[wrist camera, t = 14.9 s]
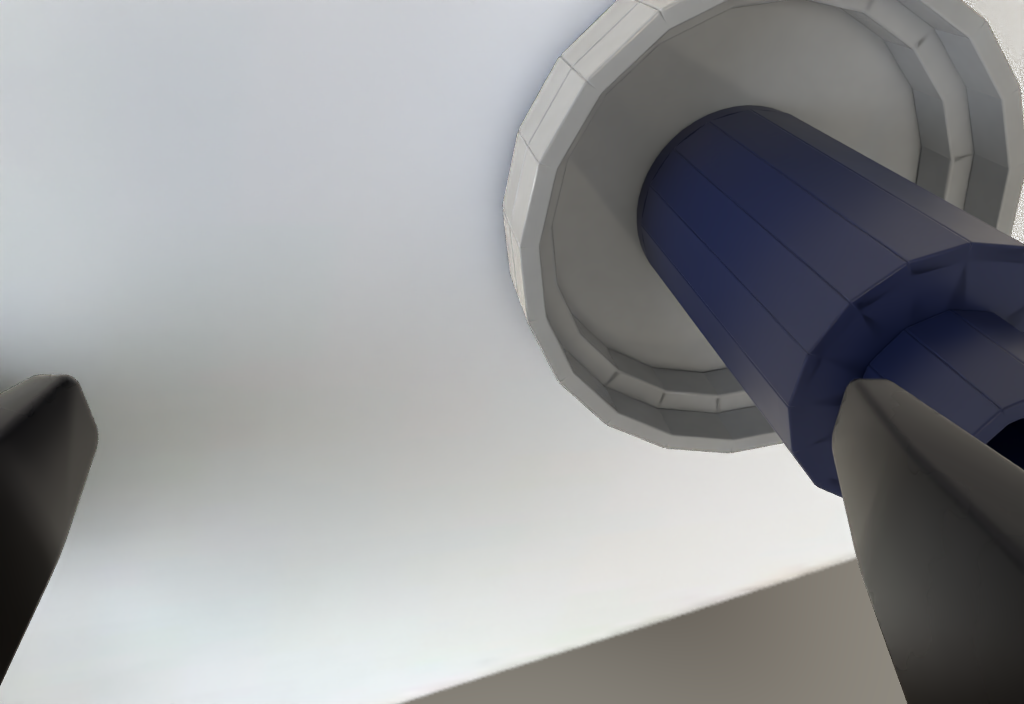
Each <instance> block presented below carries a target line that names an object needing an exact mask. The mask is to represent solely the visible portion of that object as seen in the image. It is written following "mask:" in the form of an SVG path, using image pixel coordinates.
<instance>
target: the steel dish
mask: <svg viewBox="0 0 1024 704" xmlns="http://www.w3.org/2000/svg"><path fill="white" fill-rule="evenodd" d="M746 105H752V106H764V107H769V108H773V109H776V110H779V111H782V112H784V113H788V114H791V115H793V116H794V117H796V118H798V119H800V120H802V121H803V122H805V123H807V124H809V125H811V126H812V127H814V128H816V129H818V130H820V131H821V132H823V133H825V134H827V135H828V136H830V137H832V138H834V139H836V140H837V141H839V142H841V143H843V144H845V145H846V146H848V147H850V148H852V149H854V150H855V151H857V152H859V153H861V154H863V155H864V156H866V157H868V158H870V159H872V160H873V161H875V162H877V163H879V164H881V165H882V166H884V167H886V168H888V169H890V170H891V171H893V172H895V173H897V174H899V175H900V176H902V177H904V178H906V179H908V180H909V181H911V182H913V183H915V184H917V185H918V186H920V187H922V188H924V189H926V190H927V191H929V192H931V193H933V194H935V195H936V196H938V197H940V198H942V199H944V200H945V201H947V202H949V203H951V204H953V205H954V206H956V207H958V208H960V209H962V210H963V211H965V212H967V213H969V214H971V215H972V216H974V217H976V218H978V219H980V220H981V221H983V222H985V223H987V224H989V225H990V226H992V227H994V228H996V229H998V230H999V231H1001V232H1003V233H1005V234H1007V235H1008V236H1010V237H1011V234H1012V229H1013V225H1014V220H1015V216H1016V212H1017V207H1018V203H1019V198H1020V194H1021V190H1022V185H1023V181H1024V120H1023V109H1022V98H1021V89H1020V85H1019V83H1018V81H1017V79H1016V77H1015V75H1014V73H1013V71H1012V69H1011V67H1010V65H1009V63H1008V61H1007V59H1006V57H1005V55H1004V53H1003V51H1002V49H1001V47H1000V45H999V43H998V41H997V39H996V37H995V35H994V33H993V31H992V30H991V28H990V26H989V24H988V22H987V21H986V20H985V18H984V17H983V16H981V15H980V14H979V13H977V12H976V11H975V10H974V9H972V8H971V7H970V6H969V5H967V4H966V3H965V2H964V1H962V0H617V1H616V2H615V3H614V4H613V5H612V6H611V7H610V8H608V9H607V10H606V11H605V12H604V13H603V14H602V15H601V16H600V17H599V18H598V19H597V20H596V21H595V22H594V23H593V24H592V25H591V26H590V27H589V28H588V29H587V30H586V31H585V32H584V33H583V34H582V35H581V36H580V37H579V38H578V39H577V40H576V41H575V42H574V43H573V44H572V45H570V46H569V47H568V48H567V49H566V50H565V51H564V52H563V53H562V55H561V57H559V58H558V59H557V61H556V63H555V65H554V66H553V68H552V70H551V72H550V74H549V75H548V77H547V79H546V81H545V83H544V84H543V86H542V88H541V90H540V92H539V93H538V95H537V97H536V99H535V101H534V102H533V104H532V106H531V108H530V110H529V111H528V113H527V115H526V117H525V119H524V120H523V122H522V124H521V126H520V128H519V132H518V133H517V137H516V142H515V147H514V152H513V157H512V161H511V166H510V171H509V176H508V181H507V185H506V190H505V195H504V200H503V205H502V206H503V219H504V227H505V236H506V244H507V252H508V261H509V269H510V275H511V278H512V282H513V284H514V287H515V290H516V292H517V295H518V298H519V300H520V303H521V306H522V309H523V311H524V314H525V317H526V319H527V322H528V324H529V326H530V328H531V330H532V332H533V334H534V336H535V338H536V340H537V342H538V344H539V346H540V348H541V350H542V352H543V354H544V356H545V358H546V360H547V362H548V364H549V366H550V367H551V369H552V371H553V373H554V375H555V377H556V379H557V381H559V383H560V384H561V385H562V386H563V387H564V388H565V389H566V390H567V391H569V392H570V393H571V394H572V395H573V396H574V397H575V398H576V399H578V400H579V401H580V402H581V403H582V404H583V405H584V406H585V407H587V408H588V409H589V410H590V411H591V412H592V413H593V414H594V415H595V416H597V417H598V418H599V419H600V420H601V421H602V422H603V423H605V424H607V425H608V426H610V427H613V428H615V429H618V430H620V431H623V432H625V433H628V434H630V435H633V436H635V437H638V438H640V439H643V440H645V441H648V442H650V443H653V444H655V445H658V446H660V447H663V448H667V449H679V450H692V451H705V452H718V453H735V452H740V451H745V450H750V449H755V448H761V447H766V446H771V445H776V444H782V443H783V441H782V440H781V439H780V437H779V436H778V435H777V433H776V432H775V431H774V429H773V428H772V427H771V425H770V424H769V423H768V421H767V420H766V419H765V417H764V416H763V415H762V413H761V412H760V411H759V409H758V408H757V407H756V405H755V404H754V403H753V401H752V400H751V399H750V397H749V396H748V395H747V393H746V392H745V391H744V389H743V388H742V387H741V385H740V384H739V383H738V381H737V380H736V378H735V377H734V376H733V374H732V373H731V372H730V370H729V369H728V368H727V366H726V365H725V364H724V362H723V361H722V360H721V358H720V357H719V356H718V354H717V353H716V352H715V350H714V349H713V348H712V346H711V345H710V344H709V342H708V341H707V340H706V338H705V337H704V336H703V334H702V333H701V332H700V330H699V329H698V328H697V326H696V325H695V324H694V322H693V321H692V320H691V318H690V317H689V316H688V314H687V313H686V311H685V310H684V309H683V307H682V306H681V305H680V303H679V302H678V301H677V299H676V298H675V297H674V295H673V294H672V293H671V291H670V290H669V289H668V287H667V286H666V285H665V283H664V282H663V281H662V279H661V278H660V277H659V275H658V274H657V272H656V271H655V270H654V268H653V267H652V266H651V264H650V263H649V262H648V259H647V258H646V256H645V254H644V252H643V249H642V247H641V244H640V240H639V237H638V230H637V207H638V200H639V196H640V192H641V189H642V185H643V183H644V180H645V178H646V176H647V173H648V171H649V170H650V168H651V166H652V164H653V162H654V161H655V159H656V158H657V157H658V155H659V154H660V152H661V151H662V150H663V149H664V147H665V146H666V145H667V144H668V143H669V142H670V141H671V140H672V139H673V138H674V137H675V136H676V135H677V134H679V133H680V132H681V131H682V130H683V129H685V128H686V127H688V126H689V125H691V124H692V123H693V122H695V121H697V120H699V119H701V118H703V117H704V116H706V115H708V114H711V113H714V112H716V111H719V110H722V109H726V108H731V107H736V106H746Z"/></svg>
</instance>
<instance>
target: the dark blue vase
mask: <svg viewBox="0 0 1024 704" xmlns="http://www.w3.org/2000/svg"><path fill="white" fill-rule="evenodd" d="M637 230H638V237H639V240H640V244H641V247H642V249H643V252H644V254H645V256H646V258H647V259H648V262H649V263H650V264H651V266H652V267H653V268H654V270H655V271H656V272H657V274H658V275H659V277H660V278H661V279H662V281H663V282H664V283H665V285H666V286H667V287H668V289H669V290H670V291H671V293H672V294H673V295H674V297H675V298H676V299H677V301H678V302H679V303H680V305H681V306H682V307H683V309H684V310H685V311H686V313H687V314H688V316H689V317H690V318H691V320H692V321H693V322H694V324H695V325H696V326H697V328H698V329H699V330H700V332H701V333H702V334H703V336H704V337H705V338H706V340H707V341H708V342H709V344H710V345H711V346H712V348H713V349H714V350H715V352H716V353H717V354H718V356H719V357H720V358H721V360H722V361H723V362H724V364H725V365H726V366H727V368H728V369H729V370H730V372H731V373H732V374H733V376H734V377H735V378H736V380H737V381H738V383H739V384H740V385H741V387H742V388H743V389H744V391H745V392H746V393H747V395H748V396H749V397H750V399H751V400H752V401H753V403H754V404H755V405H756V407H757V408H758V409H759V411H760V412H761V413H762V415H763V416H764V417H765V419H766V420H767V421H768V423H769V424H770V425H771V427H772V428H773V429H774V431H775V432H776V433H777V435H778V436H779V437H780V439H781V440H782V441H783V443H784V444H785V445H786V447H787V448H788V450H789V451H790V452H791V454H792V455H793V456H794V458H795V459H796V460H797V462H798V463H799V464H800V466H801V467H802V468H803V470H804V471H805V472H806V474H807V475H808V476H809V478H810V479H811V480H812V482H813V483H814V484H815V485H816V486H817V487H819V488H821V489H824V490H826V491H828V492H831V493H833V494H835V495H837V496H840V497H842V498H843V496H842V492H841V487H840V483H839V478H838V474H837V470H836V465H835V461H834V456H833V451H832V434H833V430H834V426H835V423H836V419H837V416H838V413H839V409H840V406H841V402H842V399H843V396H844V392H845V389H846V387H847V385H848V384H849V382H850V381H852V380H854V379H888V380H890V381H892V382H894V383H895V384H897V385H898V386H900V387H901V388H903V389H904V390H906V391H907V392H909V393H910V394H912V395H913V396H915V397H916V398H918V399H919V400H921V401H922V402H923V403H925V404H926V405H928V406H929V407H931V408H932V409H934V410H935V411H937V412H938V413H940V414H941V415H943V416H944V417H946V418H947V419H949V420H950V421H952V422H953V423H955V424H956V425H958V426H959V427H961V428H962V429H964V430H965V431H966V432H968V433H969V434H971V435H972V436H974V437H975V438H977V439H978V440H980V441H981V442H983V443H984V444H986V445H987V446H989V447H990V448H992V449H993V450H995V451H996V452H998V453H999V454H1001V455H1002V456H1004V457H1005V458H1007V459H1008V460H1010V461H1011V462H1012V463H1014V464H1015V465H1017V466H1018V467H1020V468H1021V469H1023V470H1024V244H1023V243H1021V242H1019V241H1017V240H1016V239H1014V238H1012V237H1010V236H1008V235H1007V234H1005V233H1003V232H1001V231H999V230H998V229H996V228H994V227H992V226H990V225H989V224H987V223H985V222H983V221H981V220H980V219H978V218H976V217H974V216H972V215H971V214H969V213H967V212H965V211H963V210H962V209H960V208H958V207H956V206H954V205H953V204H951V203H949V202H947V201H945V200H944V199H942V198H940V197H938V196H936V195H935V194H933V193H931V192H929V191H927V190H926V189H924V188H922V187H920V186H918V185H917V184H915V183H913V182H911V181H909V180H908V179H906V178H904V177H902V176H900V175H899V174H897V173H895V172H893V171H891V170H890V169H888V168H886V167H884V166H882V165H881V164H879V163H877V162H875V161H873V160H872V159H870V158H868V157H866V156H864V155H863V154H861V153H859V152H857V151H855V150H854V149H852V148H850V147H848V146H846V145H845V144H843V143H841V142H839V141H837V140H836V139H834V138H832V137H830V136H828V135H827V134H825V133H823V132H821V131H820V130H818V129H816V128H814V127H812V126H811V125H809V124H807V123H805V122H803V121H802V120H800V119H798V118H796V117H794V116H793V115H791V114H788V113H784V112H782V111H779V110H776V109H773V108H769V107H764V106H752V105H746V106H736V107H731V108H726V109H722V110H719V111H716V112H714V113H711V114H708V115H706V116H704V117H703V118H701V119H699V120H697V121H695V122H693V123H692V124H691V125H689V126H688V127H686V128H685V129H683V130H682V131H681V132H680V133H679V134H677V135H676V136H675V137H674V138H673V139H672V140H671V141H670V142H669V143H668V144H667V145H666V146H665V147H664V149H663V150H662V151H661V152H660V154H659V155H658V157H657V158H656V159H655V161H654V162H653V164H652V166H651V168H650V170H649V171H648V173H647V176H646V178H645V180H644V183H643V185H642V189H641V192H640V196H639V200H638V207H637Z"/></svg>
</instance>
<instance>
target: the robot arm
mask: <svg viewBox="0 0 1024 704" xmlns="http://www.w3.org/2000/svg"><path fill="white" fill-rule="evenodd" d="M97 445H98V429H97V425H96V423H95V420H94V418H93V416H92V413H91V411H90V408H89V406H88V403H87V401H86V399H85V396H84V394H83V391H82V389H81V386H80V384H79V383H78V381H77V380H76V379H75V378H74V377H72V376H70V375H51V374H42V375H35V376H32V377H30V378H28V379H26V380H25V381H23V382H21V383H19V384H17V385H15V386H14V387H12V388H10V389H8V390H6V391H4V392H2V393H1V394H0V685H1V683H2V681H3V679H4V677H5V674H6V672H7V670H8V668H9V666H10V664H11V662H12V660H13V657H14V655H15V653H16V651H17V649H18V647H19V645H20V642H21V640H22V638H23V636H24V634H25V632H26V630H27V627H28V625H29V623H30V621H31V619H32V617H33V615H34V612H35V610H36V608H37V606H38V604H39V602H40V600H41V597H42V595H43V593H44V591H45V589H46V587H47V585H48V582H49V580H50V578H51V576H52V574H53V571H54V569H55V567H56V564H57V562H58V560H59V557H60V555H61V552H62V549H63V547H64V544H65V542H66V539H67V536H68V533H69V530H70V527H71V524H72V521H73V518H74V515H75V512H76V509H77V506H78V503H79V500H80V497H81V494H82V491H83V488H84V485H85V482H86V479H87V476H88V473H89V470H90V467H91V464H92V461H93V458H94V455H95V452H96V449H97ZM832 451H833V456H834V461H835V465H836V470H837V474H838V478H839V483H840V487H841V492H842V496H843V501H844V505H845V509H846V514H847V518H848V523H849V527H850V531H851V536H852V540H853V545H854V549H855V553H856V557H857V561H858V565H859V568H860V571H861V574H862V577H863V580H864V583H865V586H866V589H867V592H868V595H869V597H870V600H871V603H872V606H873V609H874V612H875V614H876V617H877V620H878V622H879V626H880V628H881V631H882V634H883V636H884V639H885V642H886V645H887V648H888V651H889V653H890V656H891V659H892V662H893V664H894V667H895V670H896V673H897V676H898V679H899V681H900V684H901V687H902V690H903V692H904V695H905V698H906V701H907V704H1024V470H1023V469H1021V468H1020V467H1018V466H1017V465H1015V464H1014V463H1012V462H1011V461H1010V460H1008V459H1007V458H1005V457H1004V456H1002V455H1001V454H999V453H998V452H996V451H995V450H993V449H992V448H990V447H989V446H987V445H986V444H984V443H983V442H981V441H980V440H978V439H977V438H975V437H974V436H972V435H971V434H969V433H968V432H966V431H965V430H964V429H962V428H961V427H959V426H958V425H956V424H955V423H953V422H952V421H950V420H949V419H947V418H946V417H944V416H943V415H941V414H940V413H938V412H937V411H935V410H934V409H932V408H931V407H929V406H928V405H926V404H925V403H923V402H922V401H921V400H919V399H918V398H916V397H915V396H913V395H912V394H910V393H909V392H907V391H906V390H904V389H903V388H901V387H900V386H898V385H897V384H895V383H894V382H892V381H890V380H888V379H854V380H852V381H850V382H849V384H848V385H847V387H846V389H845V392H844V396H843V399H842V402H841V406H840V409H839V413H838V416H837V419H836V423H835V426H834V430H833V434H832Z"/></svg>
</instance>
